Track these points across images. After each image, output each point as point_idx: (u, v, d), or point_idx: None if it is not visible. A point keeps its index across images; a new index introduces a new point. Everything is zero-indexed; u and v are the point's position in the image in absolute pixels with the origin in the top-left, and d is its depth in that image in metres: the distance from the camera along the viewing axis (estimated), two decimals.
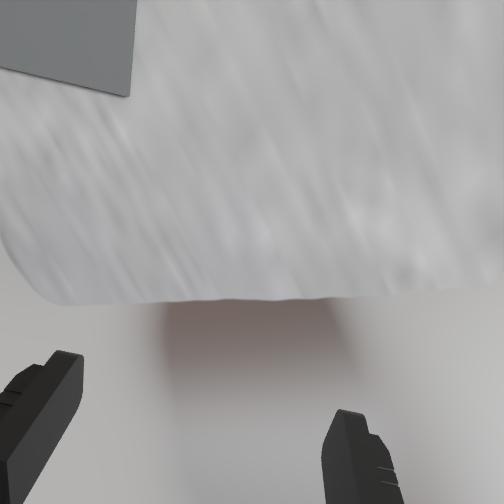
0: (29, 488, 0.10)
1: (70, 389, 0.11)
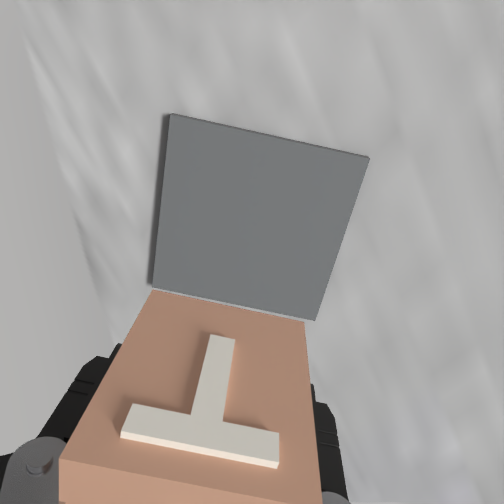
0: None
1: None
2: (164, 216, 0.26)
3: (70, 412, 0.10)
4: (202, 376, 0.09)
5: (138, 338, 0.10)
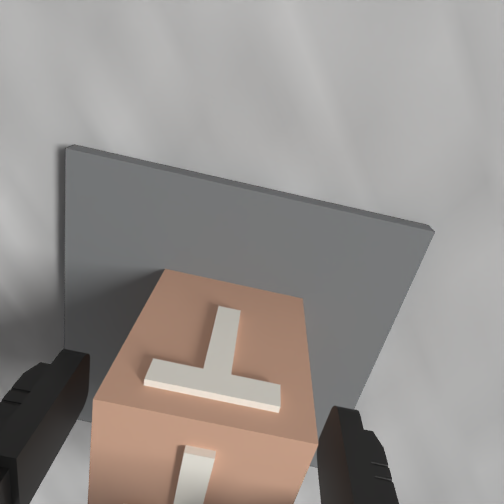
0: (37, 485, 0.10)
1: (76, 387, 0.11)
2: (73, 316, 0.15)
3: (0, 425, 0.09)
4: (212, 338, 0.11)
5: (154, 308, 0.12)
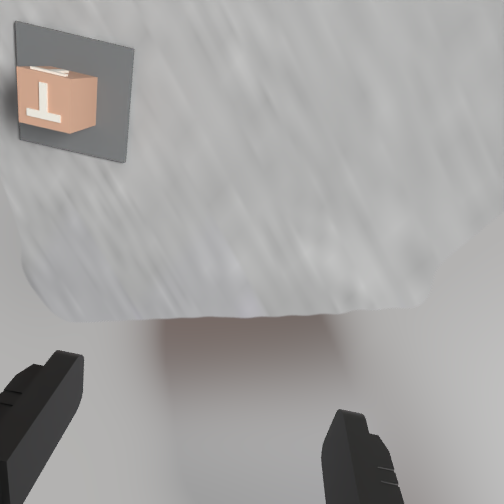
0: (29, 488, 0.10)
1: (70, 389, 0.11)
2: None
3: None
4: (54, 69, 0.38)
5: (41, 66, 0.39)
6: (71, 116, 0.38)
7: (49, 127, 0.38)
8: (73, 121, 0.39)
